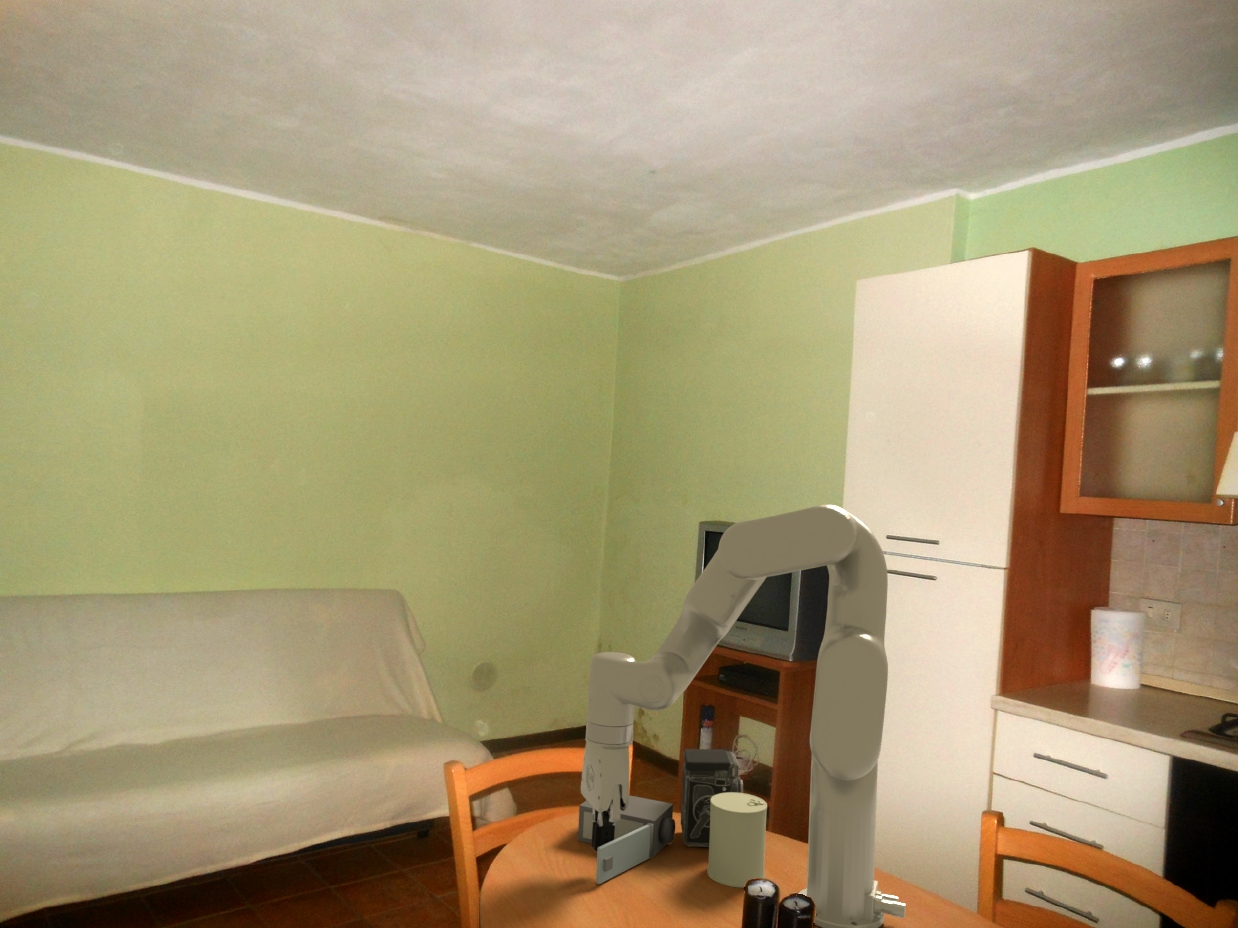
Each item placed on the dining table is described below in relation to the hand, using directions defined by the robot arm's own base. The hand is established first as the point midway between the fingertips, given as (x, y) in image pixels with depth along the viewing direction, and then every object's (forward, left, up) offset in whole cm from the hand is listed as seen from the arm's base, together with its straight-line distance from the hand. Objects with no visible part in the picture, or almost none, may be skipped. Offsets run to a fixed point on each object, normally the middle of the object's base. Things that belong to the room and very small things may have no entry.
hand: (602, 848), depth 135 cm
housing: (+2, -14, -4) cm, 15 cm away
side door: (-3, -2, -4) cm, 5 cm away
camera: (-12, -21, -4) cm, 24 cm away
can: (-19, -10, -4) cm, 22 cm away
